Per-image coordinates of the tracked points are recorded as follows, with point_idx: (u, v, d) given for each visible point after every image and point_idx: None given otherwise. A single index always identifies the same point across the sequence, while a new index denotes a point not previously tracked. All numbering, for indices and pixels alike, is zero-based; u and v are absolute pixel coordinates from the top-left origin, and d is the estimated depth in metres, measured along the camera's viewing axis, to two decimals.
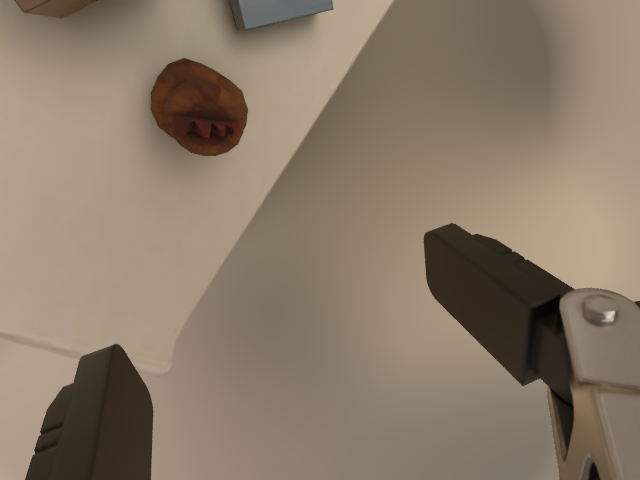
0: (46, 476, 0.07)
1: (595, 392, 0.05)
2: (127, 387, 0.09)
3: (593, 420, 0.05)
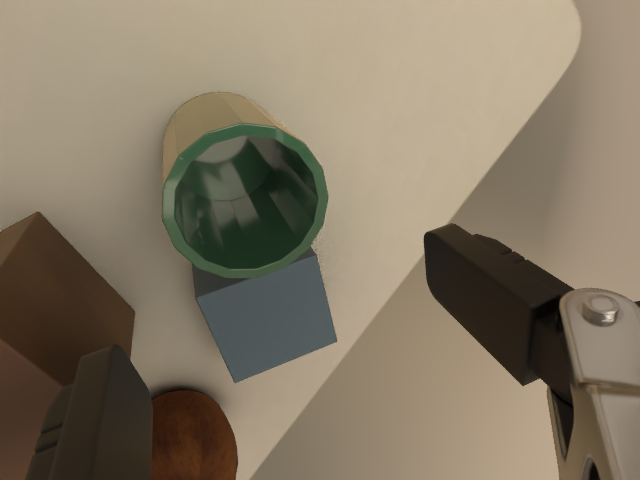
0: (46, 476, 0.07)
1: (595, 392, 0.05)
2: (127, 387, 0.09)
3: (593, 420, 0.05)
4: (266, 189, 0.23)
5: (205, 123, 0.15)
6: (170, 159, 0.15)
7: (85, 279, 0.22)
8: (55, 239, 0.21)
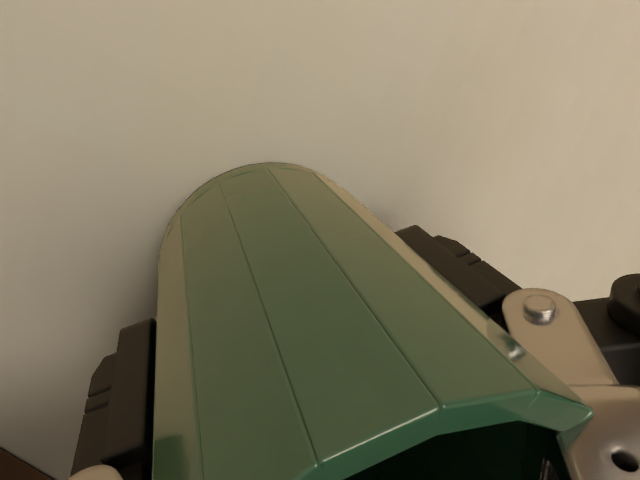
0: (99, 432, 0.07)
1: None
2: None
3: None
4: None
5: (285, 348, 0.05)
6: (175, 461, 0.05)
7: None
8: None
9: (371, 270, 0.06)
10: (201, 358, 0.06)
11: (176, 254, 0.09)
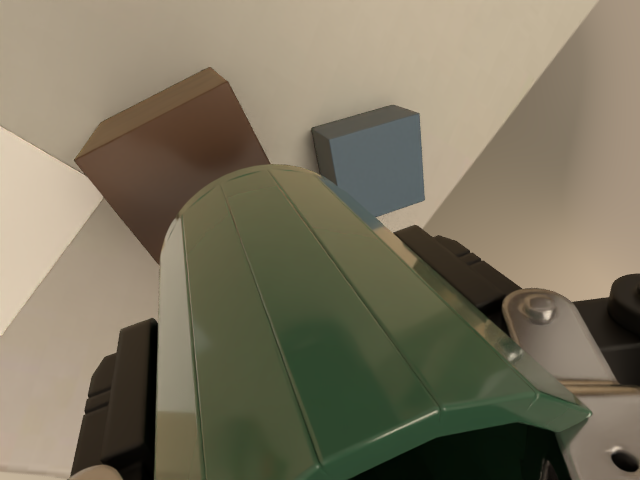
0: (99, 432, 0.07)
1: None
2: None
3: None
4: None
5: (286, 350, 0.05)
6: (177, 462, 0.05)
7: None
8: None
9: (372, 272, 0.06)
10: (203, 360, 0.06)
11: (177, 256, 0.09)
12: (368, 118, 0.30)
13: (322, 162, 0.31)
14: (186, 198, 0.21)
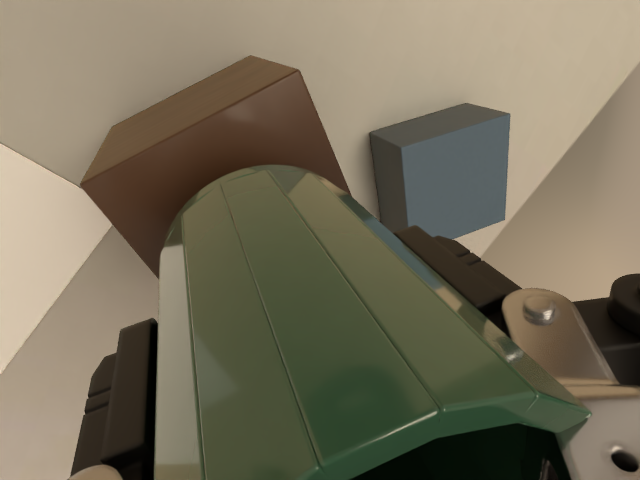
0: (99, 432, 0.07)
1: None
2: None
3: None
4: None
5: (286, 351, 0.05)
6: (177, 463, 0.05)
7: None
8: None
9: (371, 273, 0.06)
10: (203, 360, 0.06)
11: (177, 256, 0.09)
12: (441, 119, 0.24)
13: (383, 174, 0.25)
14: None
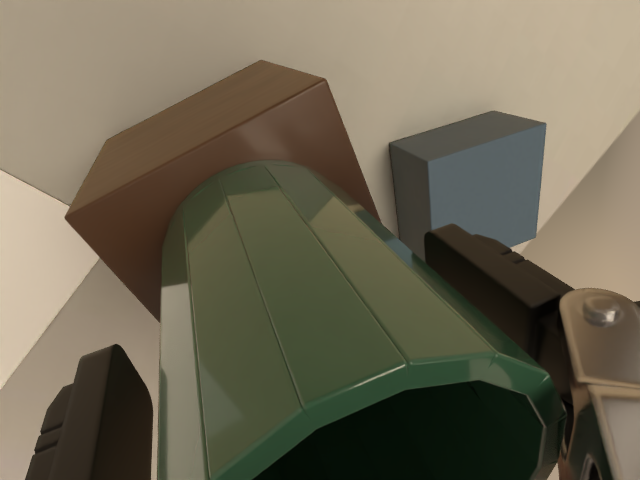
0: (46, 476, 0.07)
1: (595, 392, 0.05)
2: (126, 387, 0.09)
3: (593, 420, 0.05)
4: None
5: (276, 320, 0.05)
6: (179, 419, 0.05)
7: None
8: None
9: (356, 254, 0.07)
10: (202, 332, 0.06)
11: (178, 244, 0.09)
12: (469, 129, 0.22)
13: (404, 189, 0.23)
14: None
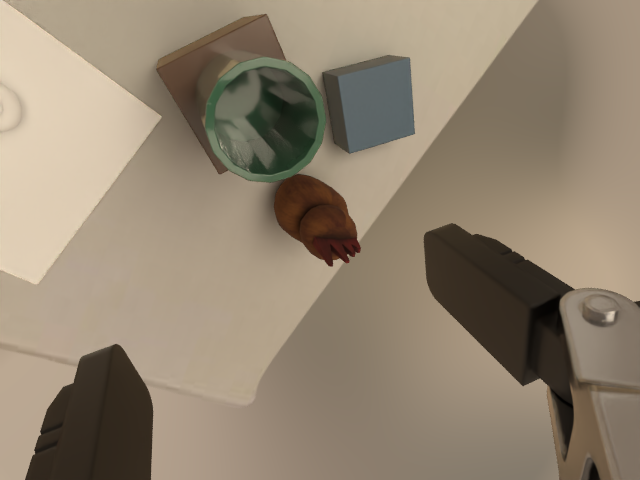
0: (46, 476, 0.07)
1: (595, 392, 0.05)
2: (127, 387, 0.09)
3: (593, 420, 0.05)
4: (276, 130, 0.28)
5: (236, 60, 0.20)
6: (210, 86, 0.20)
7: None
8: None
9: (263, 55, 0.22)
10: (216, 72, 0.21)
11: (205, 73, 0.24)
12: (368, 63, 0.37)
13: (331, 100, 0.38)
14: None
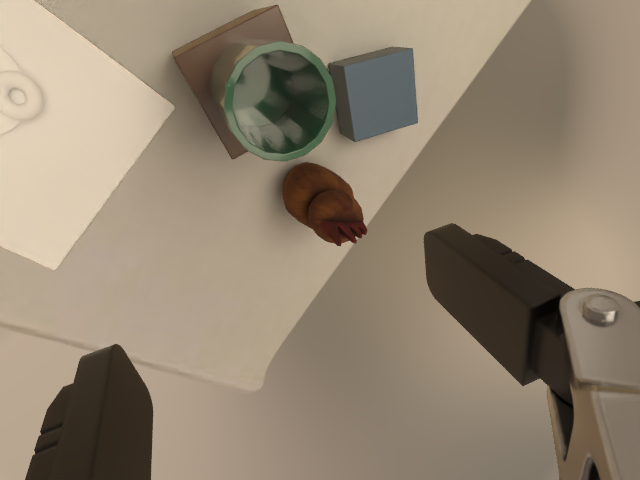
0: (46, 476, 0.07)
1: (595, 392, 0.05)
2: (127, 387, 0.09)
3: (593, 420, 0.05)
4: (287, 116, 0.30)
5: (252, 45, 0.22)
6: (228, 69, 0.22)
7: None
8: None
9: None
10: (233, 57, 0.23)
11: (220, 60, 0.26)
12: (373, 54, 0.39)
13: (337, 90, 0.39)
14: None
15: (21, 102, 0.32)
